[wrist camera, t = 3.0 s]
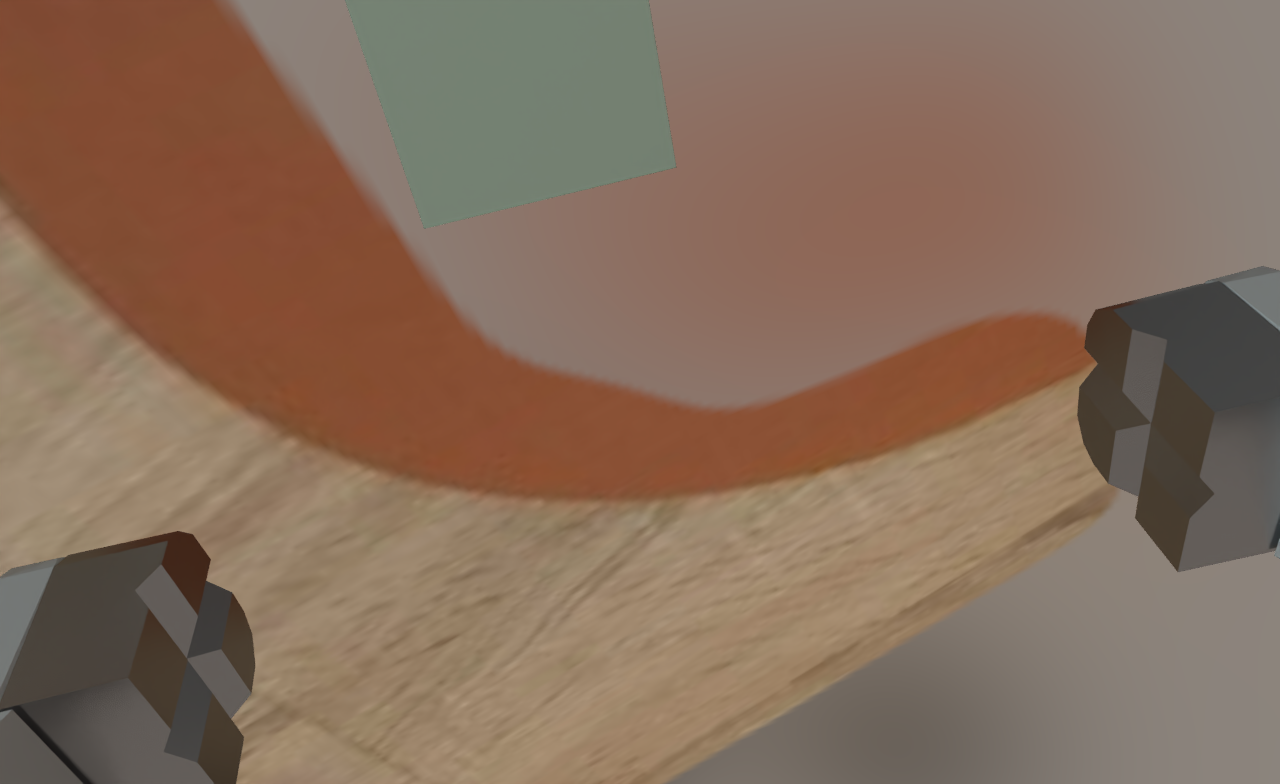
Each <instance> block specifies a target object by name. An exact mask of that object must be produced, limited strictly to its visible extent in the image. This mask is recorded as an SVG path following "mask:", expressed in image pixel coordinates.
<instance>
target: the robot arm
mask: <svg viewBox="0 0 1280 784" xmlns="http://www.w3.org/2000/svg"><path fill="white" fill-rule="evenodd" d="M1084 348H1085V349H1086V350H1087V352H1088V353H1089V354H1090V355H1091V356H1092V357H1093V358H1094V360H1095V361H1096V362H1097V363H1098V364H1097V366H1096V367H1095V368H1094V369H1093V371H1092V372H1091V373H1090V374H1089V376H1088V377H1087V378H1086V379H1085V381H1084V382H1083V383H1082V384H1081V386H1080V387H1079V400H1078V413H1077V416H1078V421H1079V425H1080V430H1081V434H1082V439H1083V443H1084V445H1085V447H1086V450H1087V452H1088V454H1089V456H1090V458H1091V460H1092V462H1093V464H1094V465H1095V467H1096V468H1097V469H1098V471H1099V472H1100V473H1101V475H1102V476H1103V477H1104V479H1105V480H1106V481H1107V483H1108V484H1111V485H1113V486H1115V487H1117V488H1120V489H1122V490H1124V491H1127V492H1129V493H1131V494H1134V495H1136V496H1138V502H1137V510H1136V516H1135V518H1136V520H1137V521H1138V522H1139V524H1140V525H1141V526H1142V527H1143V528H1144V530H1145V531H1146V532H1147V534H1148V535H1149V536H1150V538H1151V539H1152V540H1153V541H1154V542H1155V544H1156V545H1157V546H1158V548H1159V549H1160V550H1161V551H1162V553H1163V554H1164V555H1165V556H1166V558H1167V559H1168V560H1169V561H1170V563H1171V564H1172V565H1173V566H1174V568H1175V569H1176V570H1177V572H1180V571H1185V570H1190V569H1194V568H1199V567H1203V566H1208V565H1213V564H1217V563H1222V562H1226V561H1231V560H1235V559H1240V558H1245V557H1249V556H1254V555H1258V554H1263V553H1267V552H1272V551H1275V556H1276V557H1278V558H1279V559H1280V271H1279V270H1276V269H1272V268H1268V267H1264V266H1261V267H1257V268H1254V269H1250V270H1247V271H1242V272H1239V273H1235V274H1231V275H1227V276H1223V277H1220V278H1216V279H1212V280H1208V281H1206V282H1205V283H1204V284H1199V285H1194V286H1190V287H1186V288H1182V289H1178V290H1174V291H1170V292H1166V293H1162V294H1157V295H1154V296H1150V297H1145V298H1141V299H1137V300H1133V301H1129V302H1125V303H1121V304H1117V305H1113V306H1109V307H1105V308H1101V309H1097V310H1095V312H1094V314H1093V316H1092V317H1091V319H1090V321H1089V323H1088V325H1087V332H1086V339H1085V346H1084ZM210 561H211V559H210V558H209V556H208V555H207V554H206V552H205V551H204V549H203V548H202V547H201V545H200V544H199V542H198V541H197V540H196V538H195V537H194V535H193V534H189V533H185V532H180V531H176V532H172V533H167V534H163V535H158V536H153V537H149V538H144V539H140V540H135V541H130V542H126V543H121V544H117V545H112V546H108V547H103V548H98V549H94V550H89V551H85V552H80V553H75V554H71V555H68V556H66V557H64V558H57V559H52V560H48V561H43V562H39V563H34V564H30V565H25V566H21V567H16V568H12V569H10V570H9V571H7V572H6V573H5V574H3V575H2V576H1V577H0V784H236V781H237V775H238V769H239V764H240V758H241V752H242V746H243V741H244V736H243V735H242V734H241V732H240V731H239V729H238V728H237V727H236V725H235V724H234V722H233V721H232V720H231V718H232V717H233V716H234V714H235V713H236V712H237V711H238V709H239V708H240V707H241V706H242V705H243V703H244V702H245V701H246V700H247V698H248V697H249V696H250V695H251V693H252V686H253V679H254V672H255V657H254V647H253V637H252V632H251V629H250V627H249V624H248V621H247V618H246V616H245V613H244V611H243V609H242V607H241V606H240V604H239V603H238V601H237V599H236V598H235V596H234V595H233V593H232V592H230V591H228V590H225V589H223V588H221V587H219V586H216V585H214V584H212V583H210V582H208V581H206V578H207V574H208V569H209V565H210Z"/></svg>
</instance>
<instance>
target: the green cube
mask: <svg viewBox="0 0 1280 784" xmlns="http://www.w3.org/2000/svg"><path fill="white" fill-rule="evenodd" d="M345 1H346V5H347V7H348V10H349V13H350V16H351V19H352V22H353V25H354V27H355V30H356V33H357V36H358V39H359V42H360V45H361V48H362V50H363V53H364V56H365V59H366V62H367V65H368V68H369V71H370V74H371V77H372V79H373V82H374V85H375V88H376V91H377V94H378V97H379V100H380V102H381V105H382V108H383V111H384V114H385V117H386V120H387V123H388V126H389V128H390V131H391V134H392V137H393V140H394V143H395V146H396V149H397V152H398V154H399V157H400V160H401V163H402V166H403V169H404V172H405V175H406V178H407V180H408V183H409V186H410V189H411V192H412V195H413V197H414V200H415V203H416V206H417V209H418V212H419V215H420V218H421V221H422V224H423V226H424V228H429V227H434V226H438V225H442V224H446V223H450V222H454V221H458V220H462V219H467V218H470V217H475V216H479V215H483V214H487V213H491V212H495V211H499V210H503V209H508V208H512V207H516V206H520V205H524V204H528V203H532V202H537V201H541V200H544V199H549V198H553V197H557V196H561V195H565V194H570V193H573V192H578V191H582V190H586V189H590V188H594V187H598V186H602V185H606V184H611V183H615V182H619V181H623V180H627V179H631V178H635V177H639V176H644V175H648V174H652V173H656V172H660V171H664V170H668V169H672V168H676V163H675V156H674V150H673V144H672V138H671V133H670V126H669V120H668V114H667V108H666V102H665V96H664V90H663V84H662V78H661V72H660V65H659V59H658V53H657V48H656V41H655V35H654V29H653V23H652V17H651V11H650V5H649V0H345Z"/></svg>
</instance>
